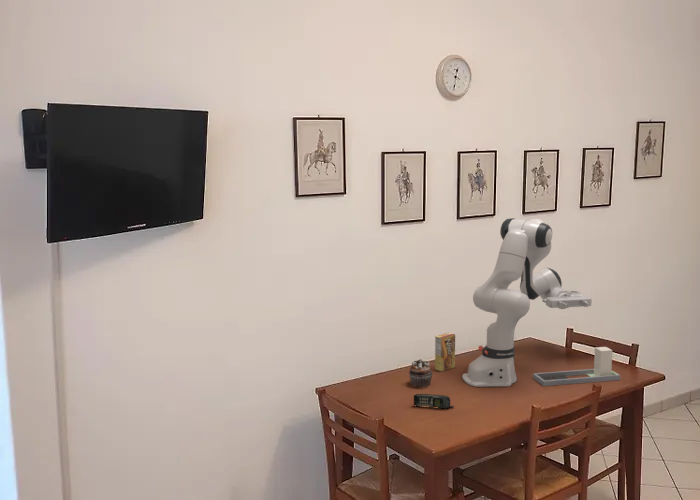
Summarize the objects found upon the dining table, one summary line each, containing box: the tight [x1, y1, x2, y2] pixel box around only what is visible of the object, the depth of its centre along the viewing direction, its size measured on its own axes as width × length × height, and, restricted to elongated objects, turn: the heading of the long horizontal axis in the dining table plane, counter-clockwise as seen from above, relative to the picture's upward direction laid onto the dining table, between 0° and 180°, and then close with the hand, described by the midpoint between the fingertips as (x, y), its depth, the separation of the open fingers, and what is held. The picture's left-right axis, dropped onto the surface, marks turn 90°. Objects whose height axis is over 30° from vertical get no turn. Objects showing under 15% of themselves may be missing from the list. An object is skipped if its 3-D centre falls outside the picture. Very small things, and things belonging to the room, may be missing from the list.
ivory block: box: [593, 346, 613, 376], centre depth 279 cm, size 5×5×12 cm
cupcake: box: [408, 359, 433, 388], centre depth 274 cm, size 10×10×10 cm
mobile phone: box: [413, 393, 455, 409], centre depth 250 cm, size 5×3×15 cm
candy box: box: [434, 332, 456, 372], centre depth 293 cm, size 9×4×15 cm, turn 129°
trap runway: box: [532, 368, 621, 387], centre depth 278 cm, size 34×10×2 cm, turn 100°
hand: (576, 305), depth 293 cm, fingers open, 8 cm apart
